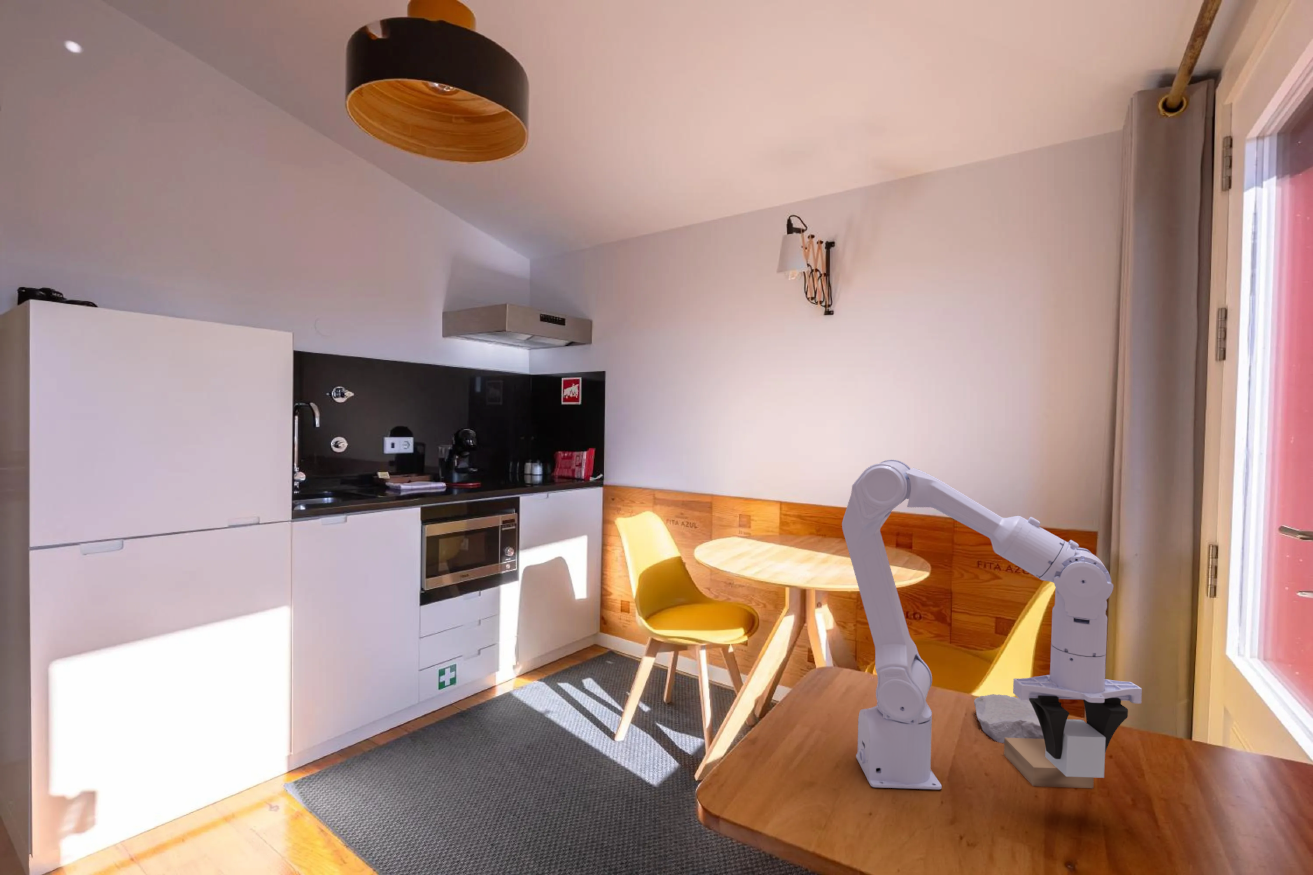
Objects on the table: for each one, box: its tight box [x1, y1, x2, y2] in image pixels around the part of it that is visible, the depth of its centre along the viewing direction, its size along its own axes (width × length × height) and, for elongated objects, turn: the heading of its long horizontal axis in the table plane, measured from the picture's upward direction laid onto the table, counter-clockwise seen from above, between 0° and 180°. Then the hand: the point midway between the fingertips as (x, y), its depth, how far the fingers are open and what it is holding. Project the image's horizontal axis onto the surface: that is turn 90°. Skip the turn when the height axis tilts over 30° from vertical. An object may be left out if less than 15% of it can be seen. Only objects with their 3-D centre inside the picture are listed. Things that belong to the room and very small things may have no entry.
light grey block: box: [1045, 718, 1106, 779], centre depth 80 cm, size 4×4×5 cm
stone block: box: [973, 693, 1044, 744], centre depth 103 cm, size 12×5×10 cm
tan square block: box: [1003, 738, 1095, 789], centre depth 91 cm, size 8×8×3 cm
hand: (1074, 755), depth 80 cm, fingers closed on light grey block, 4 cm apart
